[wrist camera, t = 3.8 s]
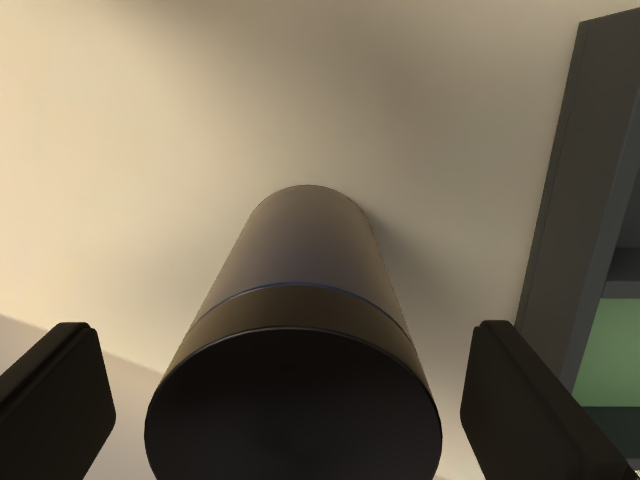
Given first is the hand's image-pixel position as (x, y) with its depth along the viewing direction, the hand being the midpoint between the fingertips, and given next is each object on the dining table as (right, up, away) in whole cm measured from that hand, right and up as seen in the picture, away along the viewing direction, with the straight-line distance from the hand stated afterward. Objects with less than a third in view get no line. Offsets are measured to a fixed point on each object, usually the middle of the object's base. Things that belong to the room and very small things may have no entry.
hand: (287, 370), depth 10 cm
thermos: (0, +3, +7) cm, 7 cm away
